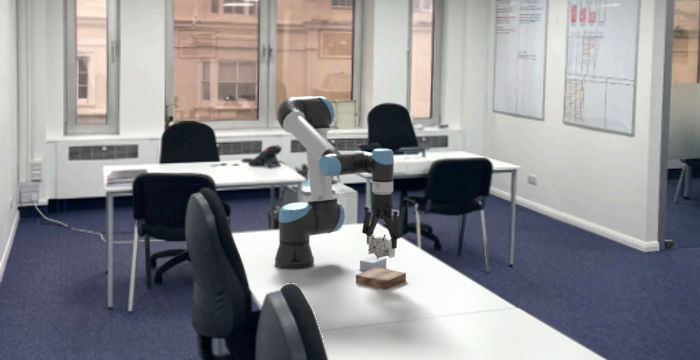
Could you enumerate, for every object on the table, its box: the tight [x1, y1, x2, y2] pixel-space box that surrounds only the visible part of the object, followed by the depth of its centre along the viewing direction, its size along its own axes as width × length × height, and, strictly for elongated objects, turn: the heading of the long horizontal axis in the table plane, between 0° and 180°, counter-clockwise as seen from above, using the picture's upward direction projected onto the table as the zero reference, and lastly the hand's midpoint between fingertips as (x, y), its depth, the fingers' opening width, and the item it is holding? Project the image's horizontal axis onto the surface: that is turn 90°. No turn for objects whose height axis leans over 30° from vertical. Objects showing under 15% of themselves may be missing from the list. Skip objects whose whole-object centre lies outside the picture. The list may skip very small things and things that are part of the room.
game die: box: [367, 234, 390, 260], centre depth 290 cm, size 9×8×10 cm
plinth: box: [355, 267, 407, 291], centre depth 292 cm, size 13×13×3 cm
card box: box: [359, 255, 387, 272], centre depth 310 cm, size 6×9×4 cm, turn 144°
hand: (381, 255), depth 291 cm, fingers closed on game die, 8 cm apart
